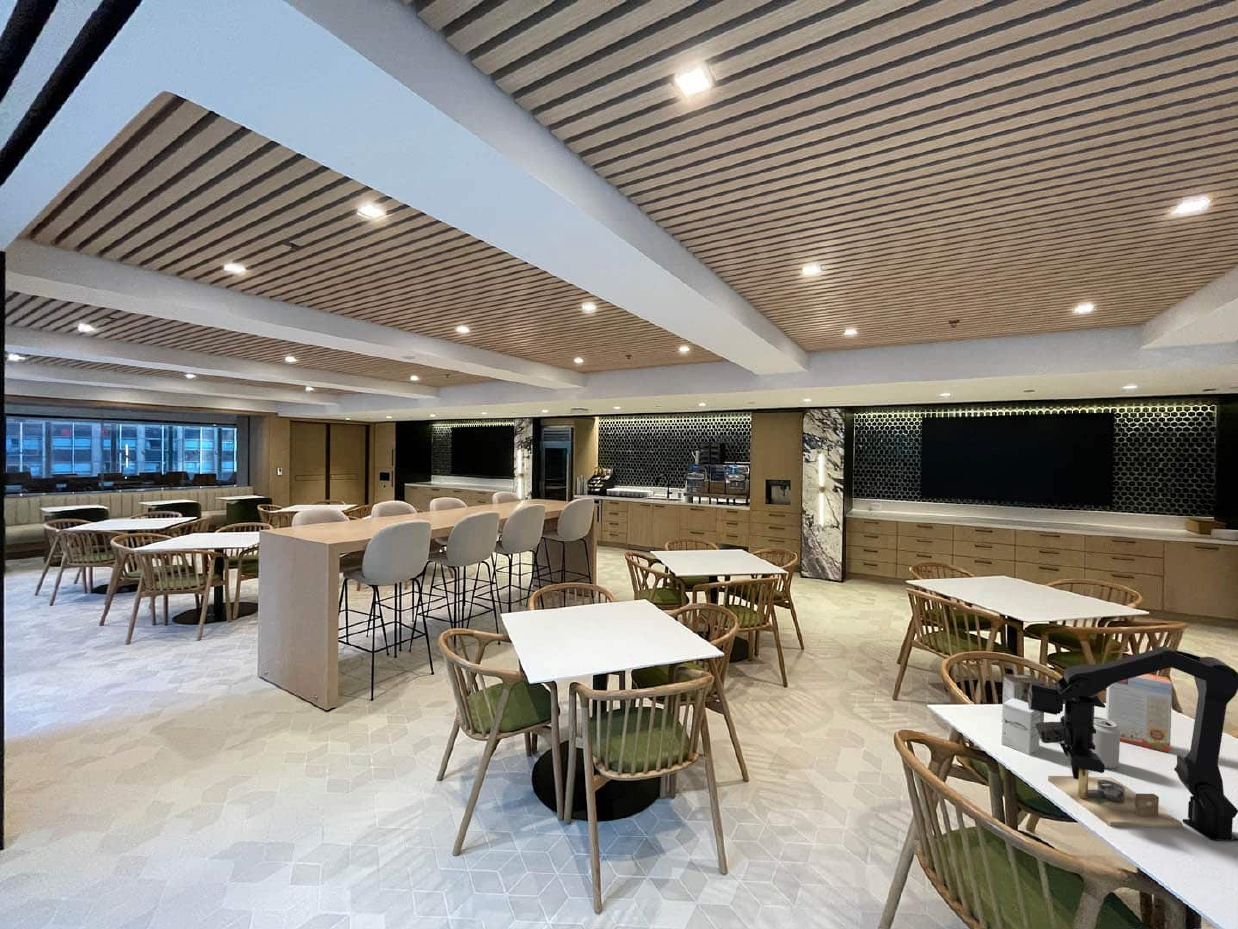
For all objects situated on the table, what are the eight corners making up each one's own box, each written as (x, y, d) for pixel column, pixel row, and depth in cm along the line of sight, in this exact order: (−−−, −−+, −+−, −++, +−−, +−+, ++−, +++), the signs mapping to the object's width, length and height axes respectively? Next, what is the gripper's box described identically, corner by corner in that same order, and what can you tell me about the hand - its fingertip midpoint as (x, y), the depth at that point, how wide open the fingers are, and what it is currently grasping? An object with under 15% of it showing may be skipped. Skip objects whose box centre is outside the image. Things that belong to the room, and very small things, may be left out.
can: (1125, 772, 149) (1127, 729, 149) (1094, 768, 151) (1095, 725, 150) (1106, 757, 156) (1108, 716, 156) (1077, 754, 158) (1078, 713, 158)
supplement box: (1000, 744, 162) (1002, 702, 162) (1011, 737, 166) (1012, 696, 166) (1029, 756, 156) (1031, 712, 156) (1040, 748, 160) (1041, 706, 160)
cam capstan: (1110, 790, 138) (1111, 763, 138) (1130, 802, 133) (1131, 774, 133) (1070, 790, 137) (1071, 763, 137) (1088, 803, 132) (1089, 775, 132)
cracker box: (1166, 745, 164) (1169, 677, 164) (1170, 754, 159) (1173, 683, 159) (1104, 730, 172) (1107, 665, 172) (1106, 738, 168) (1109, 671, 167)
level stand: (1182, 828, 126) (1183, 802, 126) (1110, 826, 126) (1111, 801, 126) (1110, 781, 144) (1111, 759, 144) (1047, 780, 144) (1048, 758, 144)
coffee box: (1031, 725, 175) (1033, 675, 175) (1044, 735, 168) (1046, 683, 168) (1000, 722, 176) (1002, 672, 176) (1012, 732, 170) (1014, 681, 170)
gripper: (1032, 696, 149) (1029, 751, 150) (1047, 727, 133) (1044, 789, 133) (1084, 706, 144) (1081, 763, 145) (1106, 739, 127) (1103, 804, 128)
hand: (1076, 778), depth 138 cm, fingers closed
